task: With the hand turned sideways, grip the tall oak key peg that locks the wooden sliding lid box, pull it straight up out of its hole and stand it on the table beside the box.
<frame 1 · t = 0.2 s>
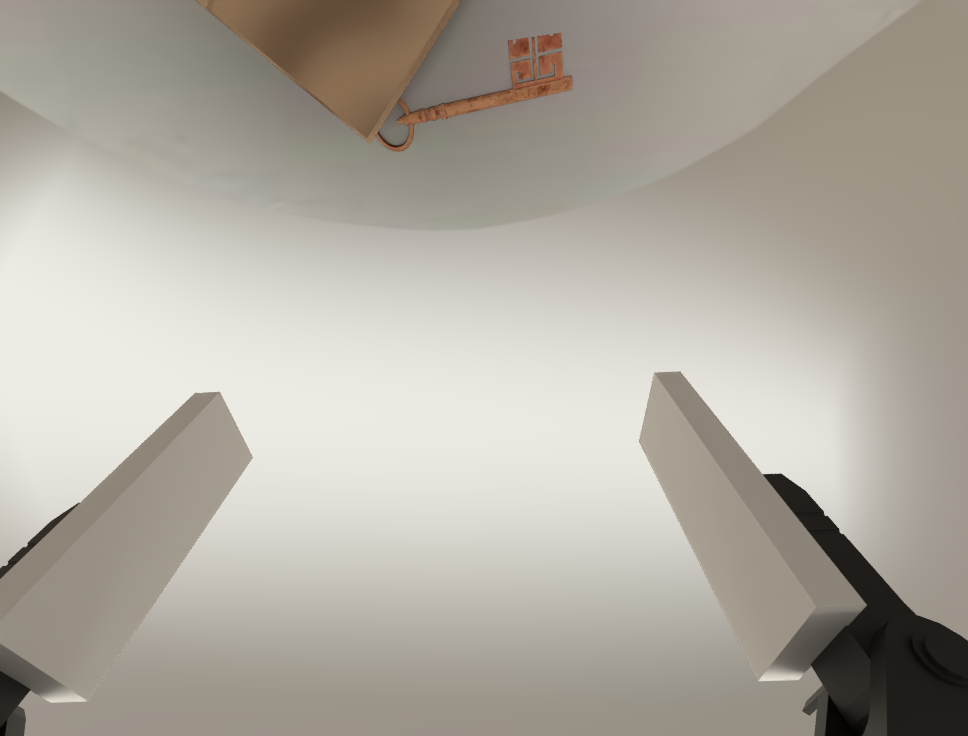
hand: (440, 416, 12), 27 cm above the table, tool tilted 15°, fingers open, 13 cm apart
key: (466, 88, 29), on the table
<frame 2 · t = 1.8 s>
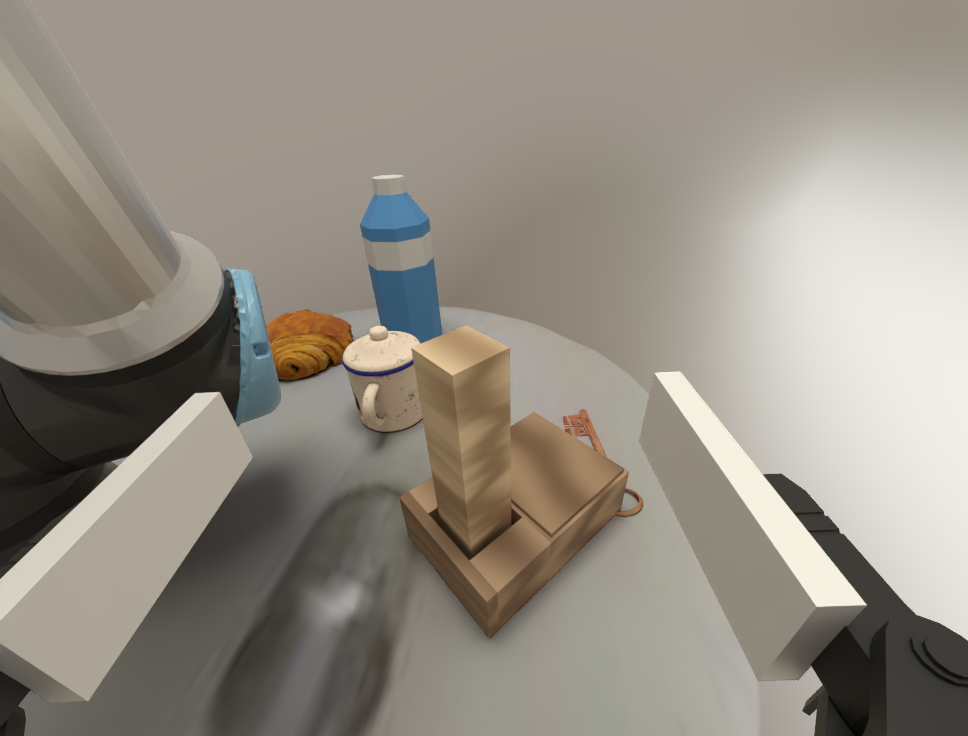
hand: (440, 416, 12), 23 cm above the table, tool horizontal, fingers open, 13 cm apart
water bottle: (414, 346, 64), on the table
wooden sliding lid box: (516, 521, 35), on the table
croissant: (311, 357, 63), on the table
teacup with lid: (392, 419, 49), on the table
wooden key peg: (478, 553, 33), resting in wooden sliding lid box
key: (592, 460, 42), on the table
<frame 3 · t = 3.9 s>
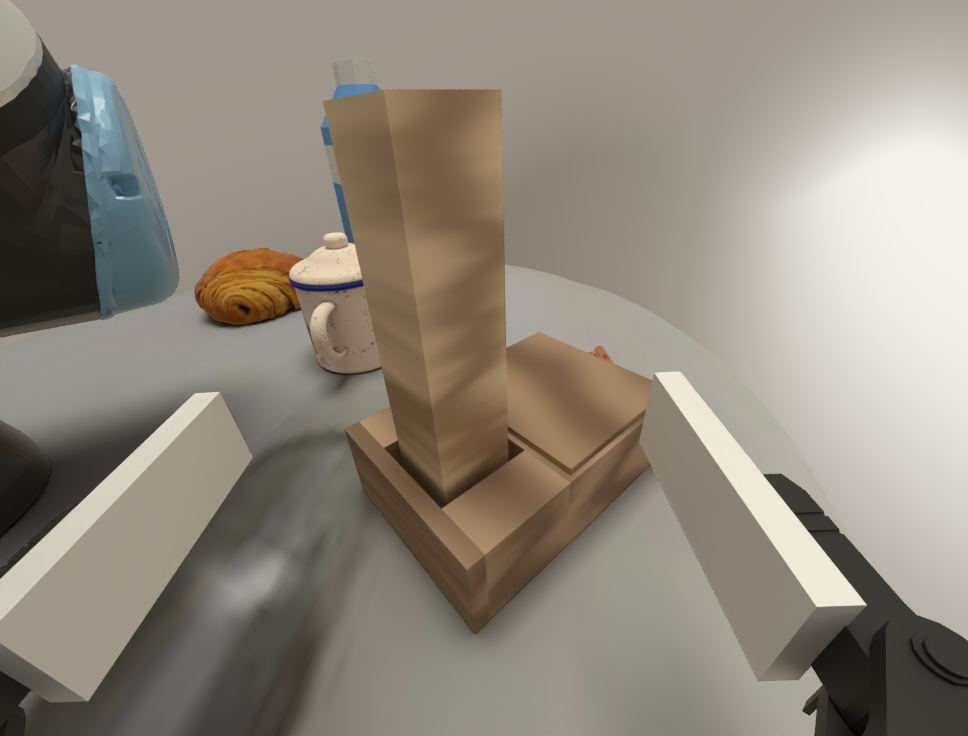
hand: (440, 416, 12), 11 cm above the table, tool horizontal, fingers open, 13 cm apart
water bottle: (394, 292, 54), on the table
wooden sliding lid box: (515, 471, 25), on the table
croissant: (270, 305, 53), on the table
teacup with lid: (358, 361, 39), on the table
wooden key peg: (461, 512, 23), resting in wooden sliding lid box
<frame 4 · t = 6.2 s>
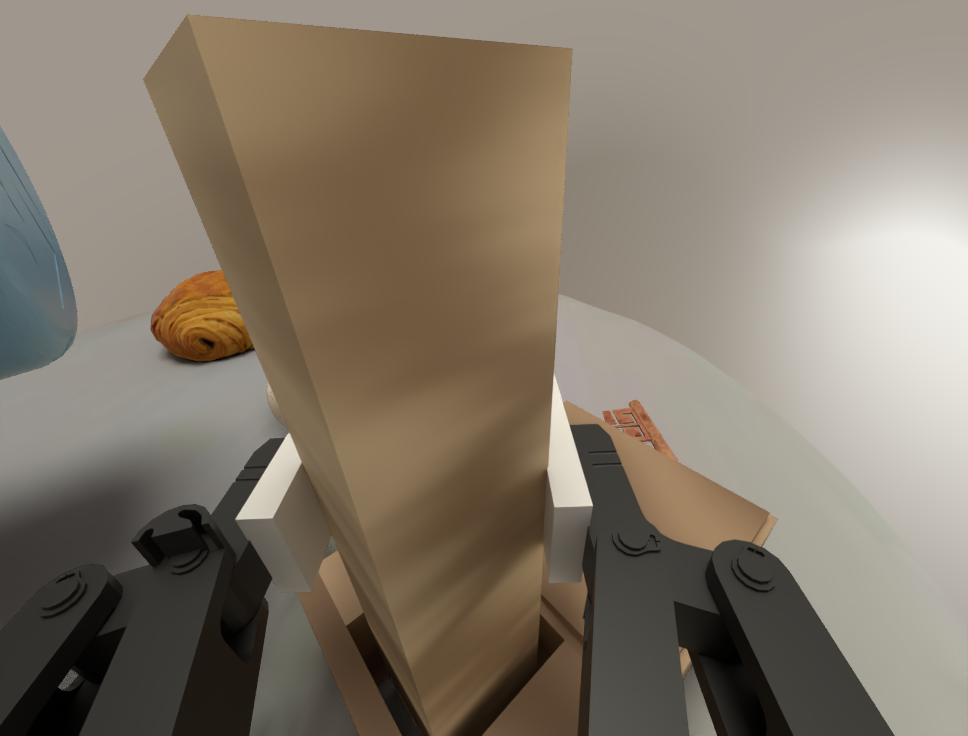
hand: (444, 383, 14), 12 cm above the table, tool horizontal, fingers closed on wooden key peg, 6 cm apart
wooden sliding lid box: (540, 613, 18), on the table
croissant: (244, 333, 46), on the table
wooden key peg: (463, 693, 16), resting in wooden sliding lid box, touching gripper
key: (662, 484, 25), on the table
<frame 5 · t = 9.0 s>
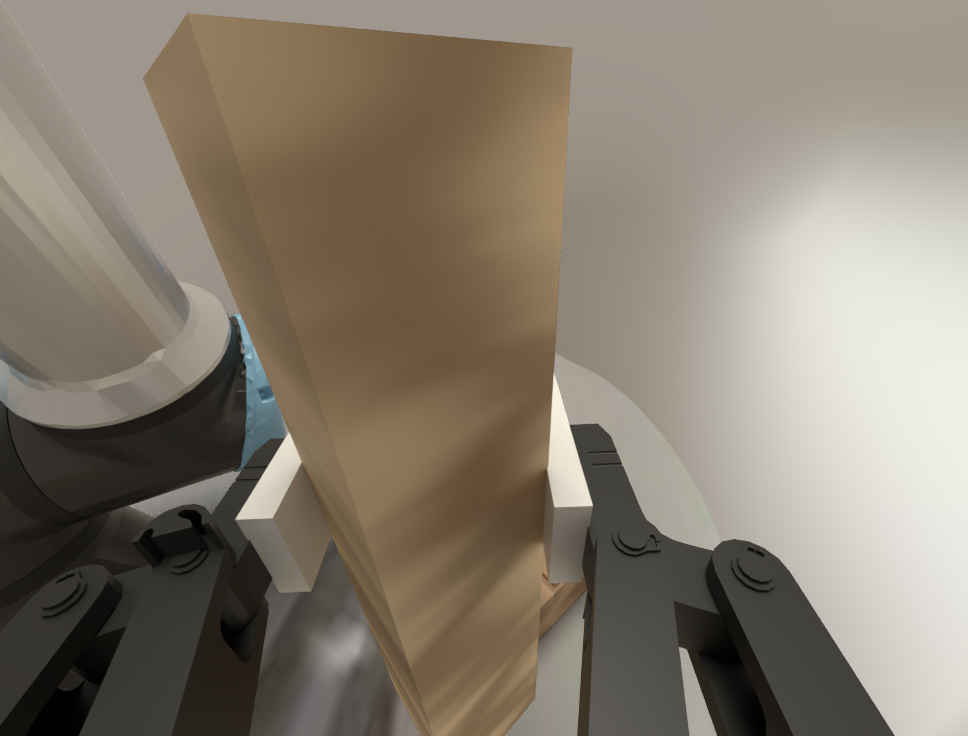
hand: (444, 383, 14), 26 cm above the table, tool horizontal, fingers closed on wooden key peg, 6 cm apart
wooden sliding lid box: (519, 562, 35), on the table
wooden key peg: (463, 693, 16), point 15 cm above the table, touching gripper
when the fingers open (13 cm above the table, at t = 11.9 s): wooden key peg drops 1 cm, on the table.
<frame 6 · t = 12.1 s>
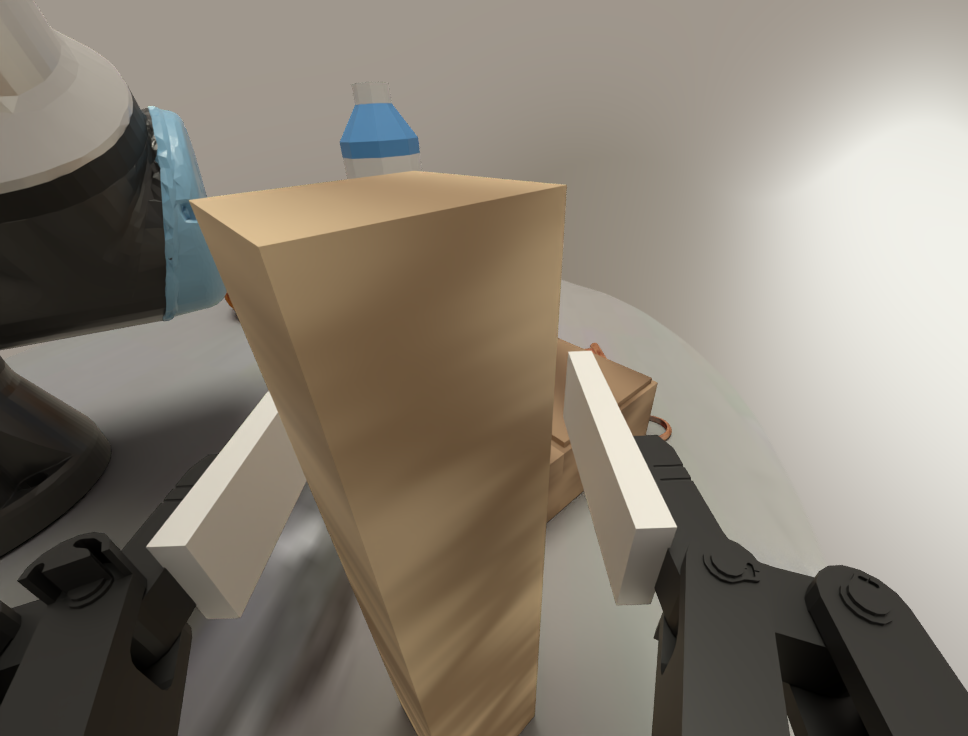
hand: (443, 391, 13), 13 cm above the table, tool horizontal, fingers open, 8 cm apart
water bottle: (404, 293, 58), on the table
wooden sliding lid box: (518, 451, 29), on the table
wooden key peg: (466, 709, 16), on the table
key: (607, 392, 36), on the table
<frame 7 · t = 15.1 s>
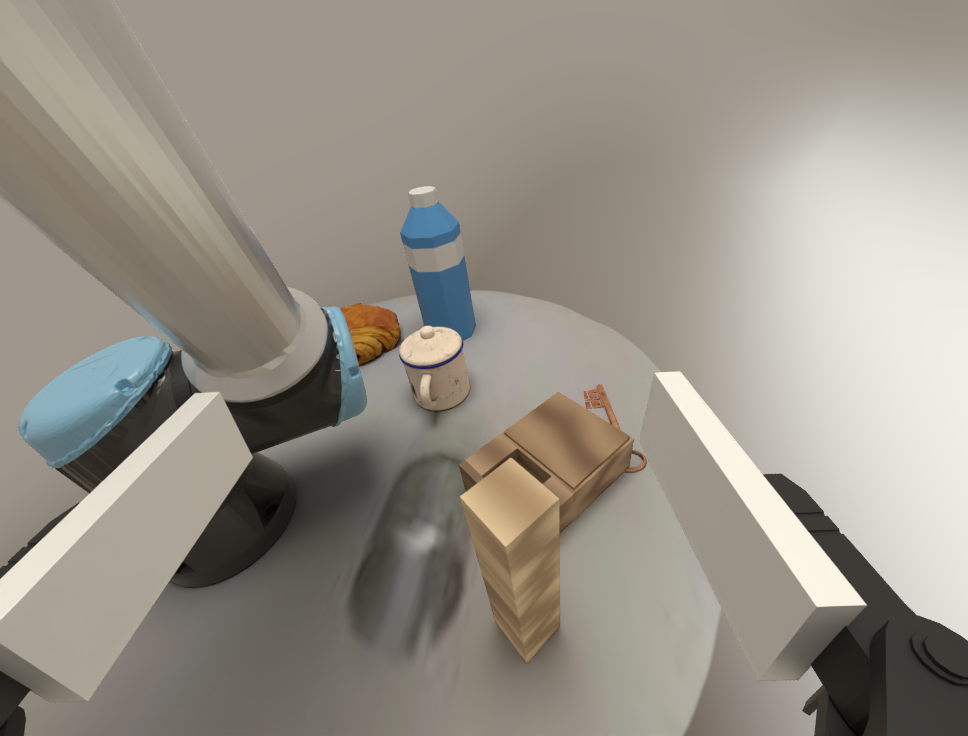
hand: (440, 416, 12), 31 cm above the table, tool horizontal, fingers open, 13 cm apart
water bottle: (451, 331, 74), on the table
wooden sliding lid box: (547, 478, 46), on the table
croissant: (366, 344, 74), on the table
teacup with lid: (441, 399, 59), on the table
wooden key peg: (527, 624, 35), on the table
key: (606, 428, 51), on the table
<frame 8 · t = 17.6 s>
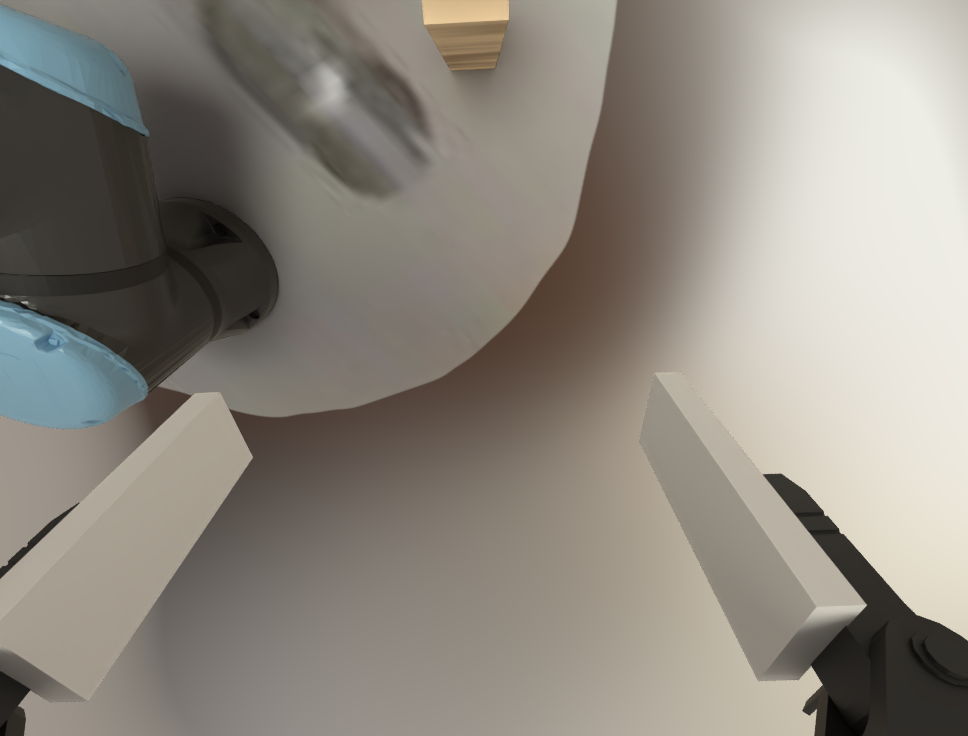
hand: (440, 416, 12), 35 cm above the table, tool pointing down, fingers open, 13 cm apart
wooden key peg: (471, 41, 34), on the table
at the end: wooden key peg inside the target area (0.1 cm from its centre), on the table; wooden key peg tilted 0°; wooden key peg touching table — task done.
